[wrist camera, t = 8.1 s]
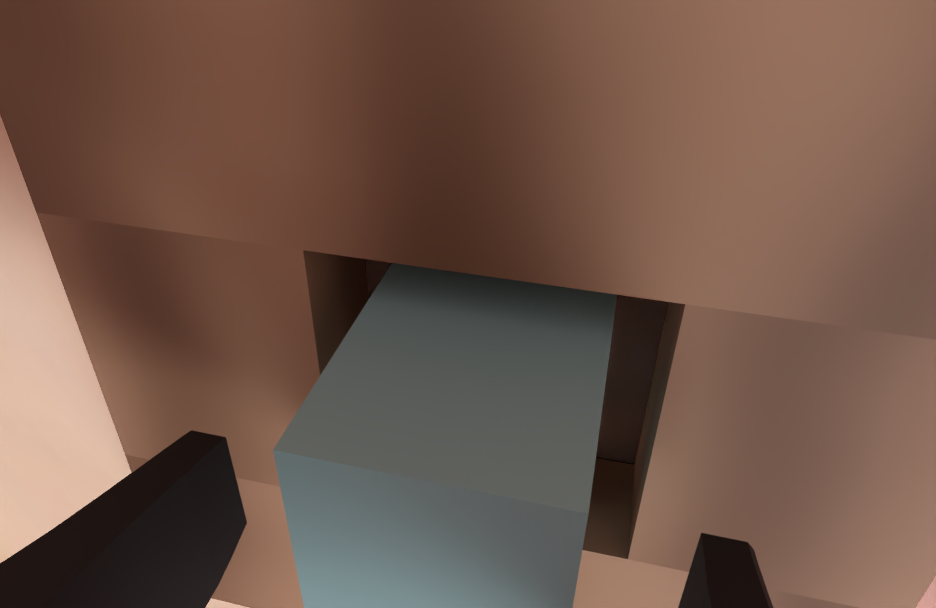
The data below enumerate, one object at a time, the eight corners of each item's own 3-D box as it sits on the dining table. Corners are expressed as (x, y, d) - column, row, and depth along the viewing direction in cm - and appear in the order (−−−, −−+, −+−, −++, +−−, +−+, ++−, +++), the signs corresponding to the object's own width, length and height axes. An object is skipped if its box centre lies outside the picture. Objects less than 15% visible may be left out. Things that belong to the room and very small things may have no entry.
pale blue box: (622, 257, 13) (587, 513, 8) (596, 416, 15) (558, 689, 11) (413, 229, 14) (272, 449, 9) (418, 385, 16) (307, 627, 11)
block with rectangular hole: (1186, -90, 9) (1335, -59, 7) (810, 642, 18) (826, 748, 16) (45, -132, 12) (-86, -119, 10) (223, 513, 21) (174, 589, 19)
